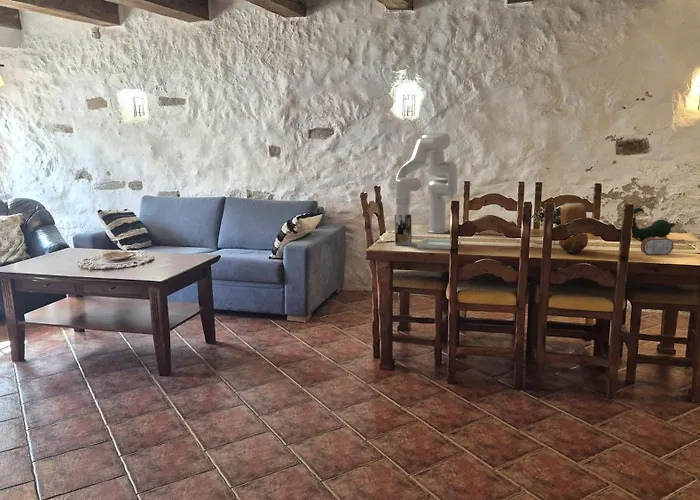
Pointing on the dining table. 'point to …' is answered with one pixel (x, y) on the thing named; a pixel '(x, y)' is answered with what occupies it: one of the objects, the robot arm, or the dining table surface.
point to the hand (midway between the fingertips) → (403, 232)
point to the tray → (435, 243)
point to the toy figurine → (651, 228)
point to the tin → (657, 245)
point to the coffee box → (406, 237)
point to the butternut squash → (568, 215)
